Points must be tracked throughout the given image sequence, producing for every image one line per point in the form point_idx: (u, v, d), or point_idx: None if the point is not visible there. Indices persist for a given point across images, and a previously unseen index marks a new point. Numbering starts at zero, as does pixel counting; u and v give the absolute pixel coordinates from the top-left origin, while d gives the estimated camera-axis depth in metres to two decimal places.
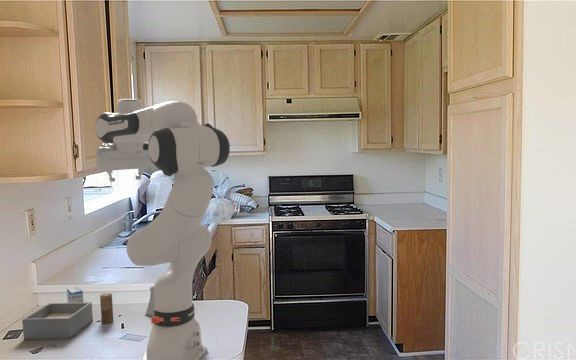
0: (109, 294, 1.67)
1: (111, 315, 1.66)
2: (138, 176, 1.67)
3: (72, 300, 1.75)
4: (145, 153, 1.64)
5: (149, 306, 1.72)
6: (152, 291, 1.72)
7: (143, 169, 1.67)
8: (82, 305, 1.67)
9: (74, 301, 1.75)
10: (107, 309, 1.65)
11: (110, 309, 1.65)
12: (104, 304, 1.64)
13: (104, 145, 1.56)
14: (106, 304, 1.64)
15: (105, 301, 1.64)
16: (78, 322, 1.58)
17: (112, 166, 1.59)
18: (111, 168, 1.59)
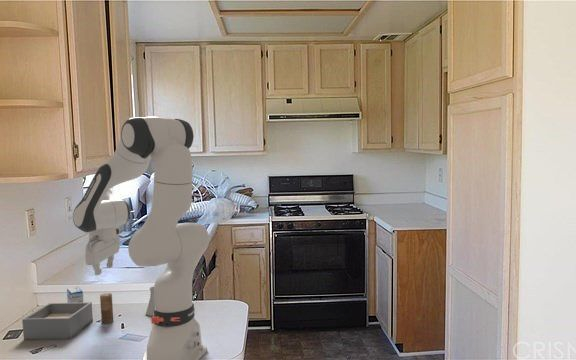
0: (109, 294, 1.67)
1: (111, 315, 1.66)
2: (111, 263, 1.70)
3: (72, 300, 1.75)
4: (115, 238, 1.71)
5: (149, 306, 1.72)
6: (152, 291, 1.72)
7: (113, 255, 1.71)
8: (82, 305, 1.67)
9: (74, 301, 1.75)
10: (107, 309, 1.65)
11: (110, 309, 1.65)
12: (104, 304, 1.64)
13: (92, 238, 1.57)
14: (106, 304, 1.64)
15: (105, 301, 1.64)
16: (78, 322, 1.58)
17: (101, 257, 1.59)
18: (101, 259, 1.59)
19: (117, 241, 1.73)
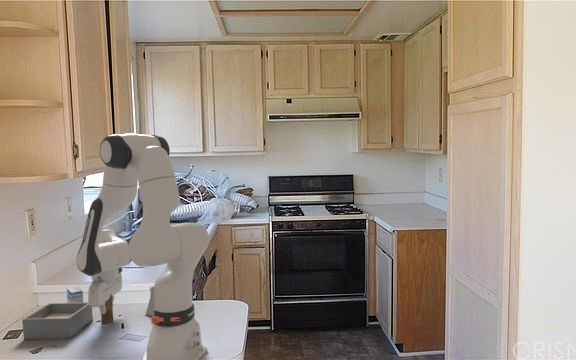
0: None
1: (111, 315, 1.66)
2: None
3: (72, 300, 1.75)
4: (117, 277, 1.72)
5: (149, 306, 1.72)
6: (152, 291, 1.72)
7: (113, 296, 1.70)
8: (82, 305, 1.67)
9: (74, 301, 1.75)
10: (107, 309, 1.65)
11: (110, 309, 1.65)
12: None
13: (95, 280, 1.58)
14: (106, 304, 1.64)
15: None
16: (78, 322, 1.58)
17: (103, 298, 1.60)
18: (103, 301, 1.60)
19: (119, 279, 1.74)
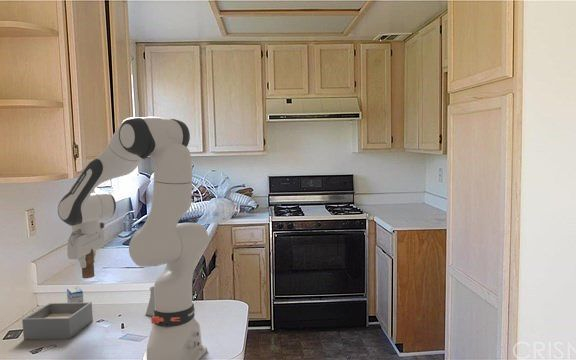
0: None
1: (92, 270, 1.63)
2: None
3: (72, 300, 1.75)
4: (99, 232, 1.68)
5: (149, 306, 1.72)
6: (152, 291, 1.72)
7: (95, 251, 1.67)
8: (82, 305, 1.67)
9: (74, 301, 1.75)
10: (88, 263, 1.62)
11: (91, 264, 1.62)
12: None
13: (74, 232, 1.54)
14: (86, 259, 1.61)
15: None
16: (78, 322, 1.58)
17: (83, 251, 1.57)
18: (83, 254, 1.57)
19: (102, 235, 1.71)
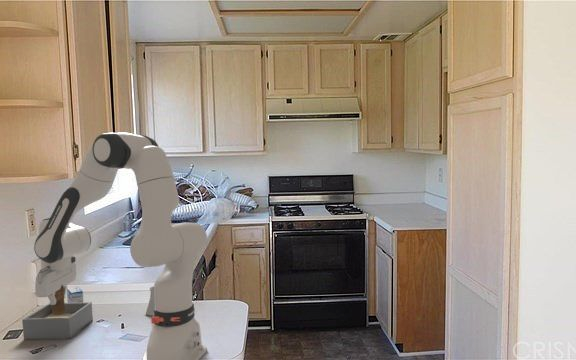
0: None
1: (62, 306, 1.59)
2: None
3: (72, 300, 1.75)
4: (70, 267, 1.65)
5: (149, 306, 1.72)
6: (152, 291, 1.72)
7: (66, 286, 1.63)
8: (82, 305, 1.67)
9: (74, 301, 1.75)
10: (58, 299, 1.58)
11: (61, 300, 1.59)
12: (54, 295, 1.58)
13: (43, 269, 1.51)
14: (56, 295, 1.58)
15: (55, 292, 1.57)
16: (78, 322, 1.58)
17: (52, 288, 1.54)
18: (52, 291, 1.53)
19: (73, 269, 1.67)
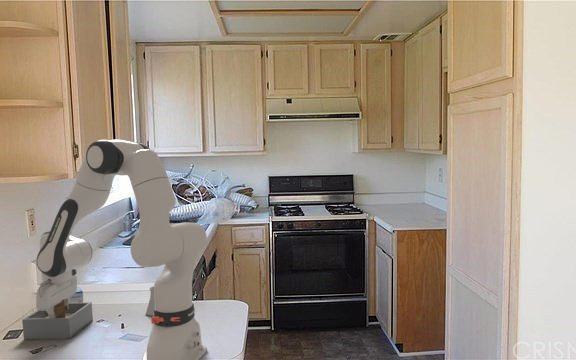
0: None
1: None
2: (66, 306, 1.64)
3: (72, 300, 1.75)
4: (71, 279, 1.65)
5: (149, 306, 1.72)
6: (152, 291, 1.72)
7: (68, 297, 1.65)
8: (82, 305, 1.67)
9: (74, 301, 1.75)
10: (59, 314, 1.58)
11: (62, 315, 1.59)
12: (55, 310, 1.58)
13: (44, 283, 1.51)
14: (57, 310, 1.58)
15: (56, 307, 1.58)
16: (78, 322, 1.58)
17: (53, 301, 1.54)
18: (53, 304, 1.54)
19: (74, 282, 1.67)
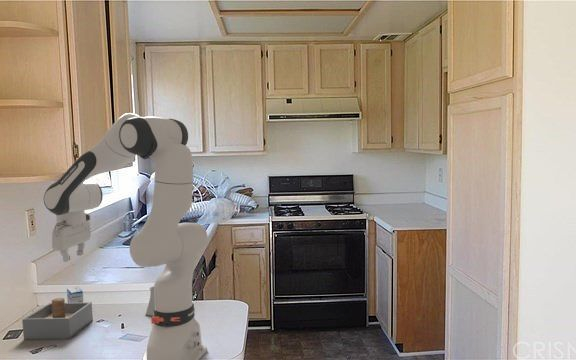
0: (61, 299, 1.60)
1: None
2: (81, 251, 1.64)
3: (72, 300, 1.75)
4: (85, 225, 1.65)
5: (149, 306, 1.72)
6: (152, 291, 1.72)
7: (83, 243, 1.66)
8: (82, 305, 1.67)
9: (74, 301, 1.75)
10: (59, 314, 1.58)
11: (62, 315, 1.59)
12: (55, 309, 1.58)
13: (59, 223, 1.51)
14: (57, 310, 1.58)
15: (56, 307, 1.58)
16: (78, 322, 1.58)
17: (69, 242, 1.54)
18: (69, 245, 1.54)
19: (88, 228, 1.68)
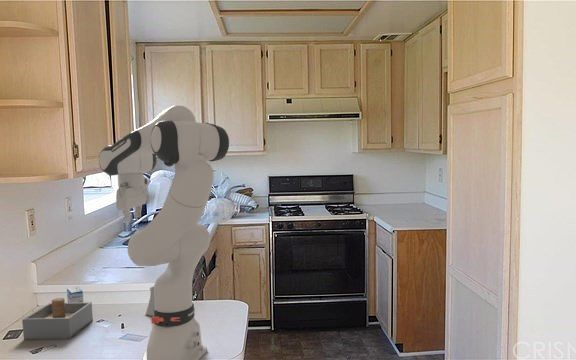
0: (61, 299, 1.60)
1: None
2: (139, 213, 1.70)
3: (72, 300, 1.75)
4: (143, 188, 1.71)
5: (149, 306, 1.72)
6: (152, 291, 1.72)
7: (141, 206, 1.72)
8: (82, 305, 1.67)
9: (74, 301, 1.75)
10: (59, 314, 1.58)
11: (62, 315, 1.59)
12: (55, 310, 1.58)
13: (123, 184, 1.57)
14: (57, 310, 1.58)
15: (56, 307, 1.58)
16: (78, 322, 1.58)
17: (131, 203, 1.60)
18: (131, 206, 1.60)
19: (145, 192, 1.73)
